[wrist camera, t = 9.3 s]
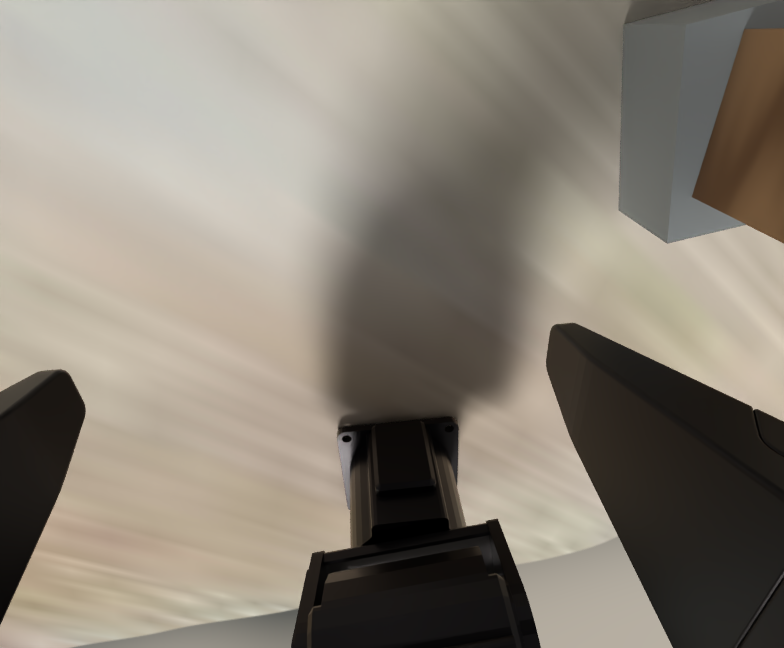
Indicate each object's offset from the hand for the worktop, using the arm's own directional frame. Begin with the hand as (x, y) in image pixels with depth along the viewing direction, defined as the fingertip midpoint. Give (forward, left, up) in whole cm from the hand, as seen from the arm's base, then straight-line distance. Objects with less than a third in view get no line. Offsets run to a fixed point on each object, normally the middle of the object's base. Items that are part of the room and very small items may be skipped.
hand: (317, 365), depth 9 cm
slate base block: (+2, -15, -12) cm, 20 cm away
